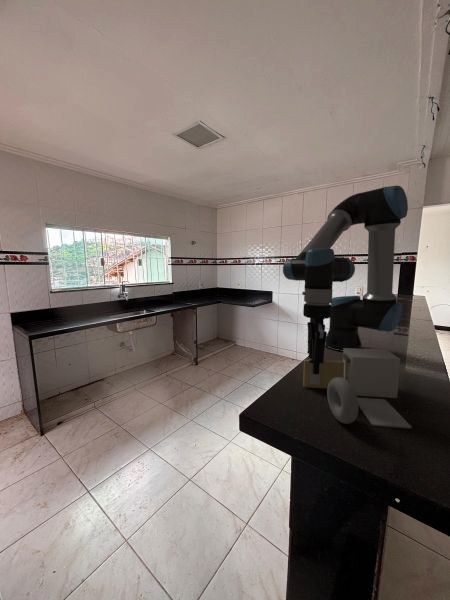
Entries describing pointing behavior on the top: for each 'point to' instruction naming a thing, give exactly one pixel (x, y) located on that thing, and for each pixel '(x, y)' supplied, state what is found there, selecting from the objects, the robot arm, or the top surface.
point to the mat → (381, 413)
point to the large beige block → (372, 372)
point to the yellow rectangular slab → (323, 373)
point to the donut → (342, 400)
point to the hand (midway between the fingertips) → (313, 381)
